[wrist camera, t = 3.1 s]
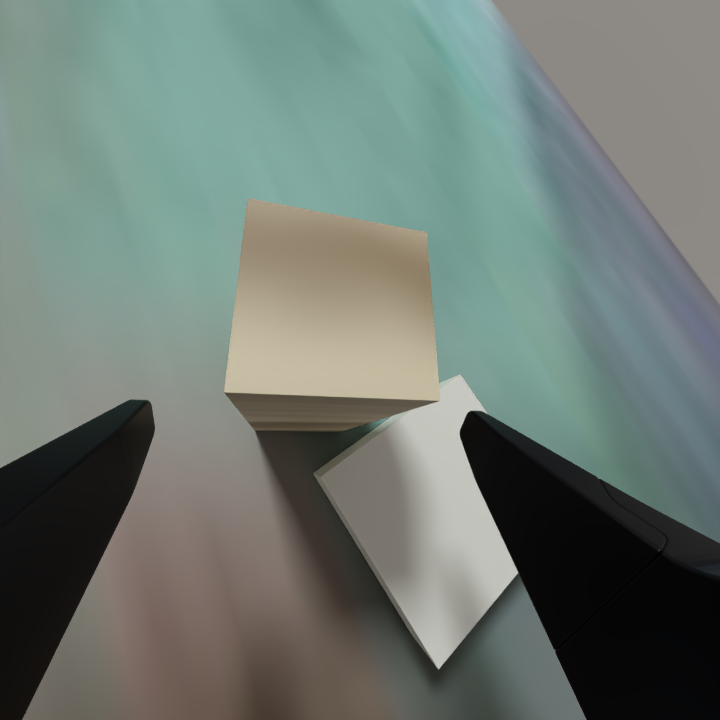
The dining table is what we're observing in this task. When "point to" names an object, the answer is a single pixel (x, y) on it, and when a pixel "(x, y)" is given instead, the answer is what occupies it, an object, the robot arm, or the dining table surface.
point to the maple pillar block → (329, 321)
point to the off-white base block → (423, 519)
